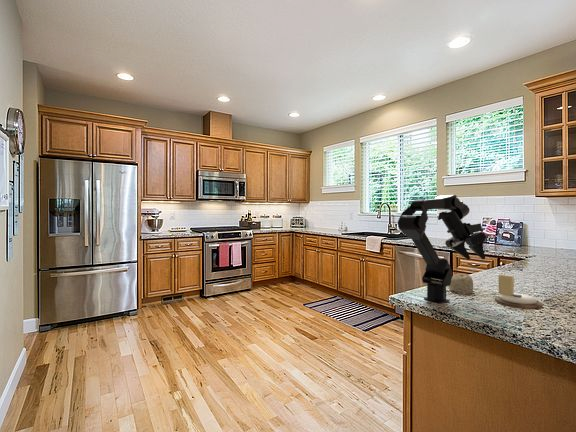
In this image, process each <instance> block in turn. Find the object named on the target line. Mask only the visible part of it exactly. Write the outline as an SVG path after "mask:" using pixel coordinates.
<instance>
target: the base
mask: <svg viewBox="0 0 576 432" xmlns="http://www.w3.org/2000/svg"><path fill="white" fill-rule="evenodd" d="M494 302H496V303H498V304H500V305H504V306H507V307H510V308H511V307H512V308H518V309H529V310H530V309H531V310H532V309H533V310H535V309H537V310H538V309H541V308H543V303H542V302H541V301H539V300H537V303H536V304H518V303H512V302H507V301H504V300H501V299H500V298H499V295H495V296H494Z"/></svg>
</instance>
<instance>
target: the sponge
mask: <svg viewBox="0 0 576 432" xmlns="http://www.w3.org/2000/svg"><path fill="white" fill-rule="evenodd" d="M448 289H449V291H450V290H451V291H450V292H453V291H454V292H455V293H458V294H472V292H473V293H474V281H473V278H472V277H471V275H469V274H467V273H456V274H454V275H452V280H451V285H450V286H448Z"/></svg>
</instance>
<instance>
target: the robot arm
mask: <svg viewBox="0 0 576 432" xmlns="http://www.w3.org/2000/svg"><path fill="white" fill-rule="evenodd" d="M428 210H437V211H441V210H442V211H441V212H439V213H438V217H437V220H438V221H440V220H442V222H443V223H444V225H445V227H446V228H447V230H446V233H448V234H451V236H452V237H450V238H448V239H447V240H445V243H444V245H445V247H447V248H449V249H451V250H452V251H454V252H456V253H457V254H459V255H461V256H462V257H464V259H466V260H470V259H471V256H470V254H469V251H468V250H467V248H466V246H465V245H466V244H467V245H468V248H469V249H470V250H471V251H472V252H473V253H475V254H476V255H477V257H479V259H481V260H485V259H486V254H485V249H484V243H485V241H486V239H487V238H488V236H487V234H486V233H485V232H483V227H482V223H481V222H479V223H475V224H471V223H468V222H463V221H462V219H464V218H465V217H466V216H468V215H469V214H470V207H469V206H468V205H467V204H466V203H464V201H463V200H460V199H459V198H458V197H457V195H456V194H446V195H437V196H435V197H434V198H433V199H432V198H430V199H415V200H413V201H412V202H411V203H410V205H409V206H408V207H407V208H405V209H404V210H403V211H402V212H401V215H400V216H399V218H398V220H397V226H398V229H399V230H400V232H401V233H402V234H403V235H404V236H406V237H408V238H409V239H411V240H412V242H413V244H414V245H415V247H416V249H417V250H418V253H419V254H420V255H421V257H422V258H423V260H424V262H425V264H426V267H425V269H424V270H425V271H424V273H423V275H422V277H421V280H422V283H423V284H426V290H427V291H426V297H425V296H424V297H423V299H424V300H426V301H430V302H432V303H435V304H436V303H437V304H442V303H446V302H447V303H448V302H450V299H447V287H449V286H450V285H451V280H452V277H453V270H452V267H451V264H450V263H449V261H448V260H447V258H441V257H439V256H438V253H437V252H436V250H435V249H434V247H433V245H432V243H431V241H430V239H429V238H428V236H427V234H426V228H427V225H426V224H427V222H428V220H429V217H428ZM444 210H446V211H444ZM417 212H421V214H419V215H418V214H417V215H414V214H415V213H417Z"/></svg>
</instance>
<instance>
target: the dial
mask: <svg viewBox="0 0 576 432" xmlns="http://www.w3.org/2000/svg"><path fill="white" fill-rule="evenodd" d="M514 278H515V276H513V275H508V274H507V275H506V274H501V273H500V274H498V294H499V295H498V296H499V298H500V299H501V300H504V301H507V302H512V303H518V304H536V303H537V301H538V300H537V297H535V296H531V295H529V294H523V293H517V292H515V289H514V287H515V285H514V283H515V281H514V280H515V279H514Z"/></svg>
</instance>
